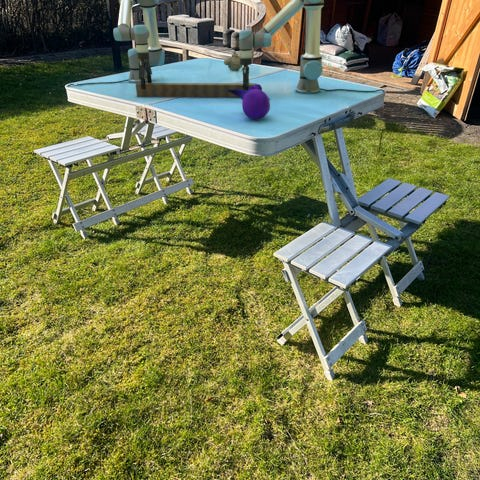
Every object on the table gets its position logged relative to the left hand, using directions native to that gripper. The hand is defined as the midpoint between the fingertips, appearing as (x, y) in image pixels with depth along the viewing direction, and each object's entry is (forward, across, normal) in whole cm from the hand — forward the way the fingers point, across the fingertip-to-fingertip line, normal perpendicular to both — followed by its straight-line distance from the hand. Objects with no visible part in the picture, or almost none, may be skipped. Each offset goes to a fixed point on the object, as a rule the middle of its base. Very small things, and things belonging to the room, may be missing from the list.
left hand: (147, 87), depth 293 cm
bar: (+6, 0, -32) cm, 33 cm away
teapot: (+4, +93, -47) cm, 104 cm away
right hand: (+5, 0, -65) cm, 65 cm away
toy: (+7, -47, -73) cm, 87 cm away
